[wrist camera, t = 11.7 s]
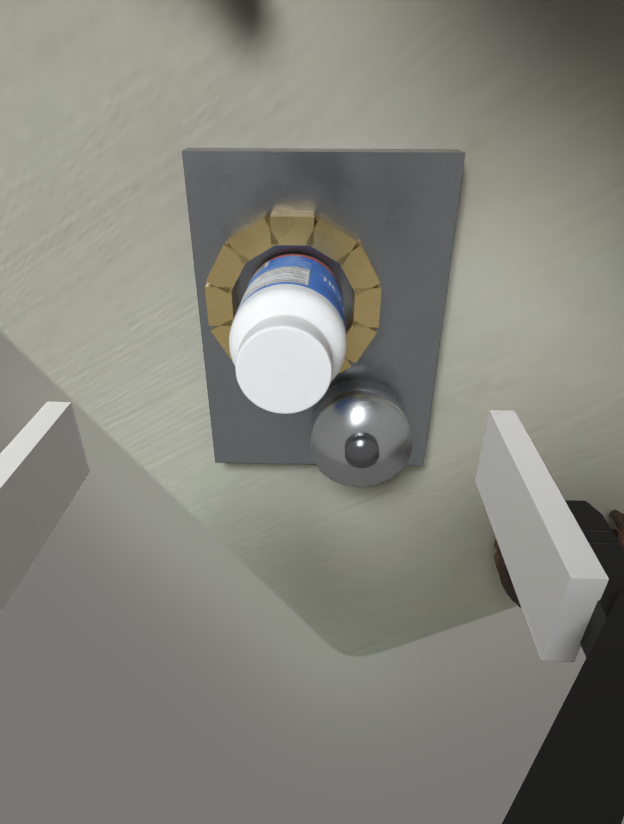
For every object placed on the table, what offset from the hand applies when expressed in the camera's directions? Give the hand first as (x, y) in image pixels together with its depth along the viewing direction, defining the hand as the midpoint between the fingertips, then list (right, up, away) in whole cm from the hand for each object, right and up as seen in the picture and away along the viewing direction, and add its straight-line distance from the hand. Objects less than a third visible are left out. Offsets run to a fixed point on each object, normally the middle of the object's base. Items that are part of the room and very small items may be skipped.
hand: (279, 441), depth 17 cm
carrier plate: (+2, +6, +15) cm, 17 cm away
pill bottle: (0, +7, +13) cm, 15 cm away
